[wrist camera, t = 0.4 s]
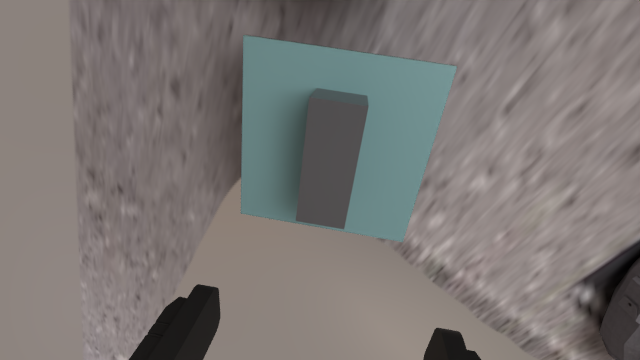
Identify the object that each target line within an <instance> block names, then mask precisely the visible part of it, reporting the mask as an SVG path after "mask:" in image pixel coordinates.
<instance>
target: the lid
mask: <svg viewBox="0 0 640 360" xmlns="http://www.w3.org/2000/svg"><path fill="white" fill-rule="evenodd" d="M456 68H457V66H454V65H448V64H441V63H434V62H427V61H421V60H414V59H407V58H400V57H393V56H386V55H379V54H373V53H366V52H359V51H352V50H345V49H338V48H332V47H325V46H318V45H311V44H304V43H297V42H290V41H284V40H277V39H270V38H263V37H256V36H249V35H243V100H242V169H241V214H248V215H252V216H258V217H265V218H270V219H275V220H281V221H287V222H292V223H298V224H304V225H310V226H315V227H321V228H326V229H332V230H338V231H344V232H349V233H355V234H361V235H366V236H372V237H378V238H383V239H389V240H395V241H400V242H403V239H404V236H405V233H406V230H407V226H408V223H409V220H410V217H411V214H412V210H413V207H414V204H415V201H416V197H417V194H418V191H419V188H420V184H421V181H422V178H423V175H424V172H425V168H426V165H427V162H428V159H429V155H430V152H431V149H432V146H433V143H434V139H435V136H436V133H437V130H438V126H439V123H440V120H441V117H442V114H443V110H444V107H445V104H446V101H447V97H448V94H449V91H450V88H451V84H452V81H453V78H454V75H455V72H456Z"/></svg>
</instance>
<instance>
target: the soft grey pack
mask: <svg viewBox="0 0 640 360" xmlns="http://www.w3.org/2000/svg"><path fill="white" fill-rule="evenodd" d="M599 333H600V335H601V337H602V339H603V341H604V344H605V346H606V349H607V351H608V353H609V354H610V355H611V356H612V357H613V358H614V359H615V360H640V257H639V258H638V259H637V260H636V261H635V262H634V263H633V264H632V266H631V267H630V269H629V270H628V271H627V273H626V274H625V276H624V277H623V279H622V280H621V281H620V283H619V284H618V286H617V287H616V288H615V290H614V292H613V295H612V298H611V300H610V303H609V306H608V308H607V311H606V313H605V316H604V319H603V322H602V325H601V328H600V331H599Z"/></svg>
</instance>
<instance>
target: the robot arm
mask: <svg viewBox="0 0 640 360" xmlns="http://www.w3.org/2000/svg"><path fill="white" fill-rule="evenodd" d="M219 320H220V302H219V290H218V288H216V287H210V286H205V285H199V284H198V285H196V286H195V287H194V289H193V290H192V292H191V293H190V295H189V297H188V298H182V297H178V298H177V299H176V300H175V301H173V302H172V303H171V304H169V305H168V306H167V307H165V309H164V310H163V312H162V313H161V315H160V316H159V317H158V319H157V320H156V323H155V324H154V325H153V326H152V327H151V329H150V330H149V332H148V335H146V336H145V337H144V339H143V340H142V342H141V343H140V345H139V346H138V347H137V349H136V350H135V352H134V353H133V355H132V356H131V357H130V359H129V360H203V358H204V356H205V354H206V352H207V350H208V348H209V345H210V344H211V341H212V340H213V337H214V335H215V333H216V331H217V328H218V325H219ZM424 360H481V359H480V357H479V356H478V355H477V353H476V352H475V351H470V350H467V349H466V346H465V343H464V340H463V337H462V335H461V333H460V332H458V331H453V330H447V329H442V328H436V329H435V331H434V333H433V335H432V337H431V340H430V342H429V344H428V347H427V349H426V351H425V355H424Z"/></svg>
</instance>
